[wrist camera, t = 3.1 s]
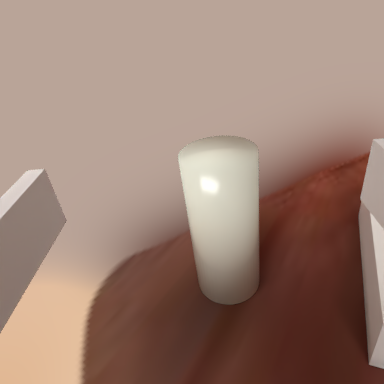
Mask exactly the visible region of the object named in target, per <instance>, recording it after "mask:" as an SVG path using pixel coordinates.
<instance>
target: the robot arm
mask: <svg viewBox="0 0 384 384" xmlns="http://www.w3.org/2000/svg"><path fill="white" fill-rule="evenodd" d="M360 199H361V201H362V202H363V203H364V205H365V206H366V207H367V209H368V210H369V211H370V212H371V214H372V215H373V216H374V218H375V219H376V220H377V222H378V223H379V224H380V226H381V227H382V228H383V230H384V138H383V139H373V142H372V147H371V151H370V156H369V161H368V165H367V170H366V174H365V179H364V183H363V188H362V193H361V197H360ZM65 223H66V218H65V216H64V214H63V212H62V209H61V207H60V204H59V202H58V200H57V197H56V195H55V192H54V190H53V187H52V185H51V183H50V180H49V178H48V175H47V173H46V171H45V169H37V170H27V171H26V172H25V173H24V174H23V175H22V176H21V177H20V178H19V179H18V180H17V182H16V183H15V184H14V185H13V186H12V187H11V188H10V189H9V190H8V191H7V192H6V193H5V194H4V195H3V196H2V197H1V198H0V333H1V331H2V329H3V328H4V326H5V324H6V323H7V321H8V319H9V317H10V316H11V314H12V312H13V311H14V309H15V307H16V306H17V304H18V302H19V301H20V299H21V297H22V295H23V294H24V292H25V290H26V289H27V287H28V285H29V284H30V282H31V280H32V279H33V277H34V275H35V273H36V272H37V270H38V268H39V267H40V265H41V263H42V262H43V260H44V258H45V257H46V255H47V253H48V251H49V250H50V248H51V246H52V244H53V243H54V241H55V240H56V238H57V236H58V234H59V233H60V231H61V229H62V228H63V226H64V224H65Z"/></svg>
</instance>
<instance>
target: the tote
mask: <svg viewBox="0 0 384 384" xmlns="http://www.w3.org/2000/svg"><path fill="white" fill-rule="evenodd" d="M358 217H359V231H360V245H361V260H362V274H363V288H364V303H365V317H366V331H367V346H368V360H369V365H371V366H375V367H379V368H382V369H384V230H383V228H382V227H381V226H380V224H379V223H378V222H377V220H376V219H375V218H374V216H373V215H372V214H371V212H370V211H369V210H368V209H367V207H366V206H365V205H364V203H363V202H362V201H361V206H360V211H359V216H358Z"/></svg>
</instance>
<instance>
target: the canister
mask: <svg viewBox="0 0 384 384" xmlns="http://www.w3.org/2000/svg"><path fill="white" fill-rule="evenodd" d="M258 154H259V152H258V147H257V145H256V144H255V143H253V142H252V141H250V140H248V139H245V138H241V137H236V136H214V137H208V138H203V139H200V140H197V141H194V142H192V143H190V144H188V145H187V146H185V147H184V148H183V149H182V150H181V151H180V152H179V155H178V160H179V166H180V172H181V178H182V184H183V191H184V197H185V203H186V209H187V215H188V221H189V227H190V233H191V239H192V245H193V251H194V257H195V263H196V269H197V276H198V282H199V286H200V289H201V291H202V293H203V294H204V295H205V296H206V297H207V298H208V299H210V300H212V301H214V302H216V303H219V304H226V305H232V304H238V303H241V302H244V301H246V300H248V299H249V298H251V297H252V296H253V295H254V294H255V292H256V291H257V289H258V286H259V168H258V167H259V156H258Z"/></svg>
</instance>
